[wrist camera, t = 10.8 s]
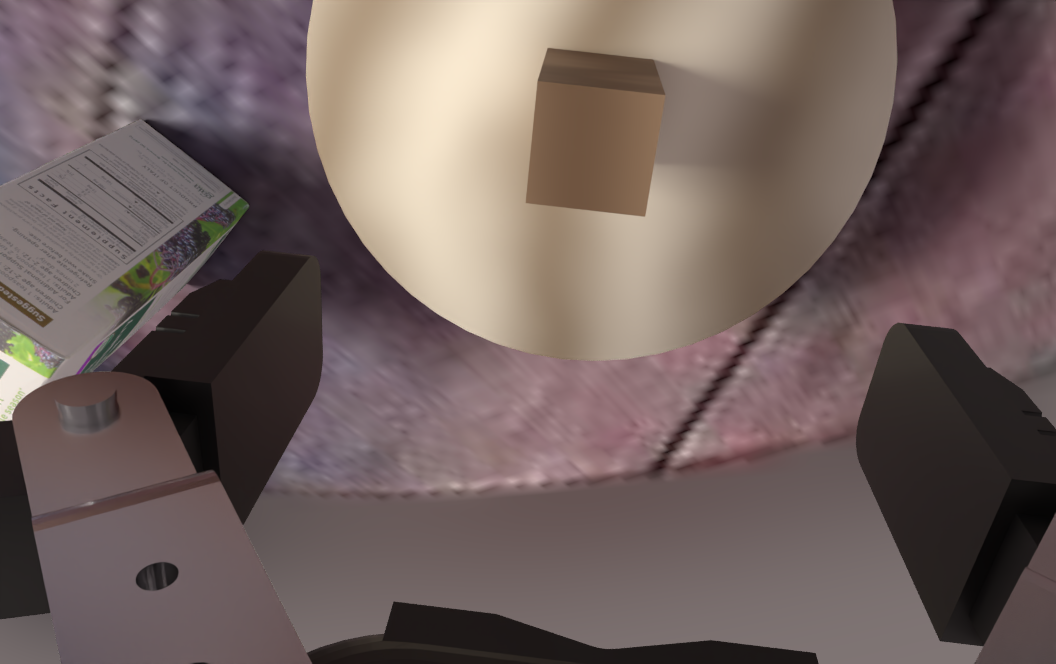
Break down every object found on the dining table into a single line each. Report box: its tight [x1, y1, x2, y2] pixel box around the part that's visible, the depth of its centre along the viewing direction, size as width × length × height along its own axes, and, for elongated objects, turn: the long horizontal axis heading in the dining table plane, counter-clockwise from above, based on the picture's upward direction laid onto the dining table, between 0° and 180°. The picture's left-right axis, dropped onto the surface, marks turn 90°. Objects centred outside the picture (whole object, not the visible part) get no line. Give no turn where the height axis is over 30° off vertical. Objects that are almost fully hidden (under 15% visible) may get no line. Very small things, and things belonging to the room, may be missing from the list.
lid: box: [306, 0, 897, 361], centre depth 25 cm, size 18×18×6 cm
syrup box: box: [0, 119, 249, 421], centre depth 31 cm, size 6×6×14 cm
